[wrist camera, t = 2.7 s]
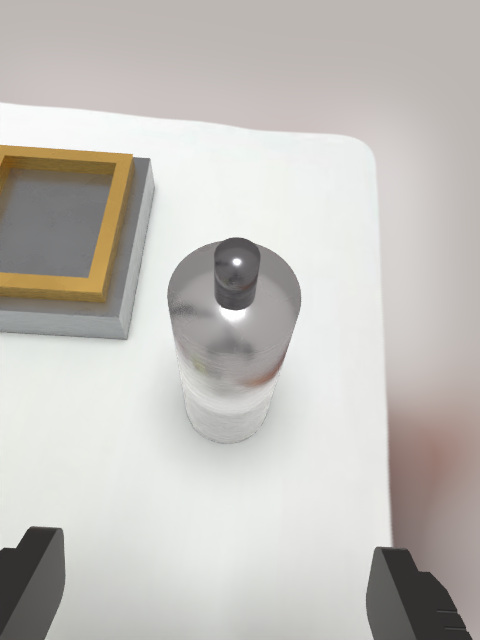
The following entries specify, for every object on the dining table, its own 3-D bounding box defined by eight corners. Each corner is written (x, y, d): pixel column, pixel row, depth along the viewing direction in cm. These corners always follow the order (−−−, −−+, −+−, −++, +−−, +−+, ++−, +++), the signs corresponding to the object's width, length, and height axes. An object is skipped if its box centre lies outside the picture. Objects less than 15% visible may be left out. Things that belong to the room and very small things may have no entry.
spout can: (181, 441, 28) (151, 316, 14) (190, 362, 30) (170, 194, 17) (267, 445, 28) (315, 327, 15) (268, 367, 31) (310, 204, 17)
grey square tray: (-53, 328, 31) (-89, 295, 27) (7, 177, 38) (-15, 134, 34) (126, 339, 31) (115, 308, 27) (154, 187, 38) (148, 145, 34)
